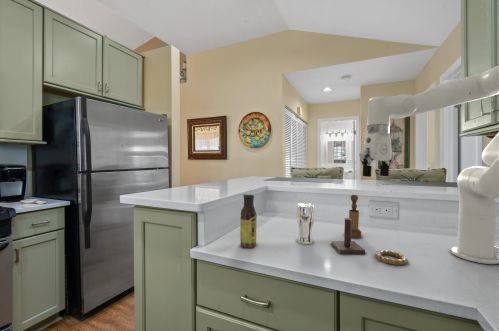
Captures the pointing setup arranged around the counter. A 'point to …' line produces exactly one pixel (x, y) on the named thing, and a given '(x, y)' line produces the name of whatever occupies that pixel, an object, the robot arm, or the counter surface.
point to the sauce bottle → (248, 222)
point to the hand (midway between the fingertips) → (375, 176)
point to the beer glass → (305, 222)
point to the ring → (391, 261)
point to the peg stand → (347, 241)
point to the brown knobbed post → (354, 218)
